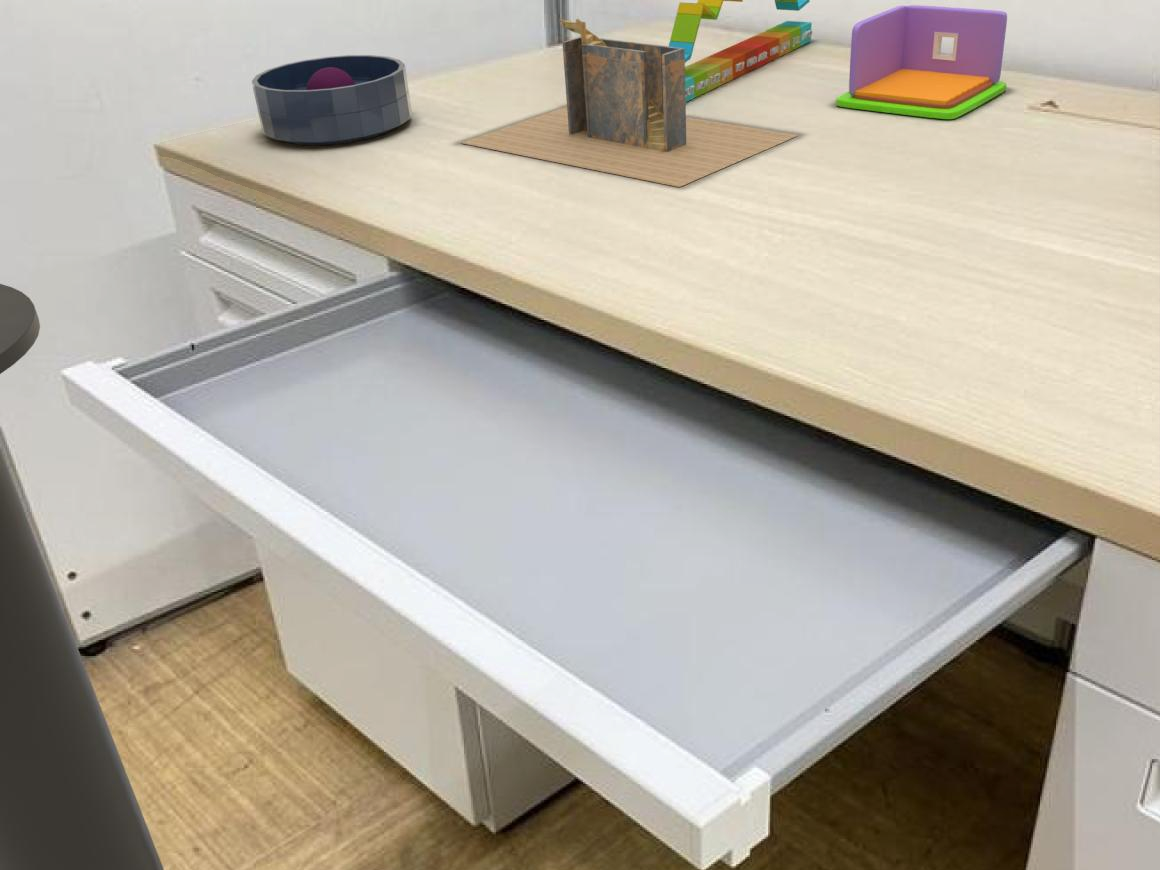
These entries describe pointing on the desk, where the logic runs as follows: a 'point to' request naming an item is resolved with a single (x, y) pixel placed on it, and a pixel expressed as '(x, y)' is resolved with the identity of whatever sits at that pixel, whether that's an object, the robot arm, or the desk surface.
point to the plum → (329, 79)
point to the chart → (738, 56)
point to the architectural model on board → (628, 117)
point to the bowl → (333, 100)
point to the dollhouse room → (926, 61)
